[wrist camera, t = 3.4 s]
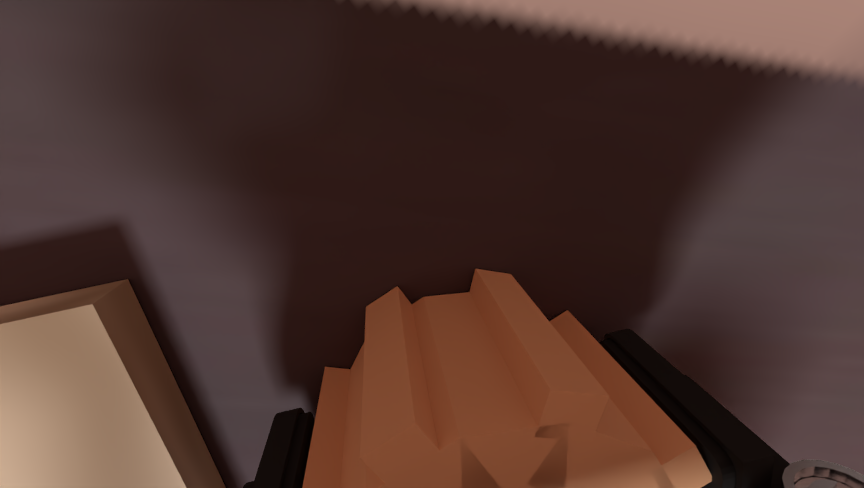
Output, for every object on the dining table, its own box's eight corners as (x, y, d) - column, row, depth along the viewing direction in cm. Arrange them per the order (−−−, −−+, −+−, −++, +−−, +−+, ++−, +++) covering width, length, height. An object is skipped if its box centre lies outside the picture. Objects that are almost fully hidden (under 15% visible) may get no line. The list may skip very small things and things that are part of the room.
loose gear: (509, 212, 10) (615, 296, 5) (628, 411, 12) (766, 578, 8) (260, 375, 10) (178, 571, 6) (421, 536, 12) (446, 758, 8)
